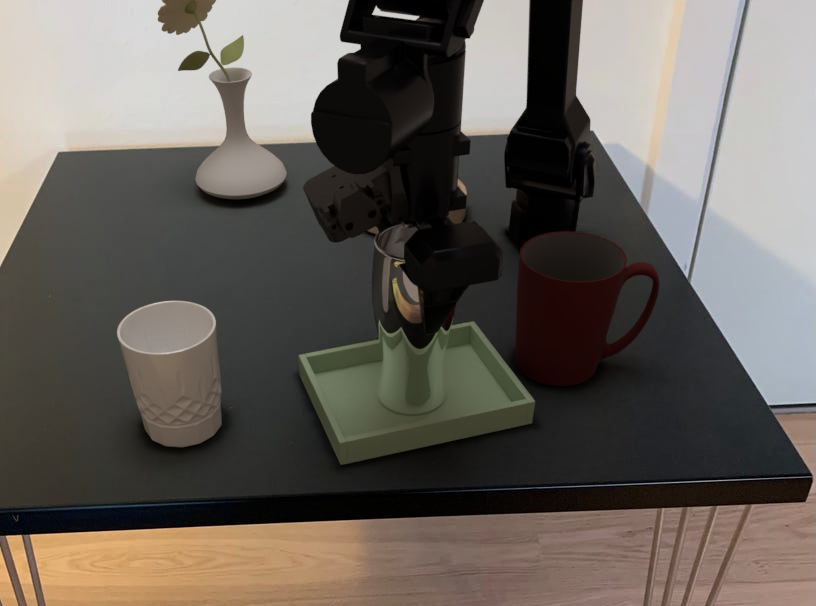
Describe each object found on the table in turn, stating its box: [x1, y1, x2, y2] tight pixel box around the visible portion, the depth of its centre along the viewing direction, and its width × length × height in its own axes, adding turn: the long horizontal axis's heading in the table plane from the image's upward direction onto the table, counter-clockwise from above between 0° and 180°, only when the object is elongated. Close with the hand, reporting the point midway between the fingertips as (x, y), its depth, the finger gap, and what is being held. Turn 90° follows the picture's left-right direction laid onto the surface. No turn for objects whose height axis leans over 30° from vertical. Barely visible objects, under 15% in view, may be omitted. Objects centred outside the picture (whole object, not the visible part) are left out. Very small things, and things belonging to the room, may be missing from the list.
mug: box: [514, 231, 660, 387], centre depth 80 cm, size 12×9×11 cm
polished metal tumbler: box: [371, 223, 458, 415], centre depth 75 cm, size 7×7×15 cm
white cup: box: [116, 300, 223, 448], centre depth 75 cm, size 8×8×10 cm
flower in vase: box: [157, 0, 288, 200], centre depth 105 cm, size 13×11×25 cm
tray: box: [298, 320, 536, 466], centre depth 80 cm, size 17×13×2 cm
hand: (414, 309), depth 74 cm, fingers closed on polished metal tumbler, 7 cm apart
